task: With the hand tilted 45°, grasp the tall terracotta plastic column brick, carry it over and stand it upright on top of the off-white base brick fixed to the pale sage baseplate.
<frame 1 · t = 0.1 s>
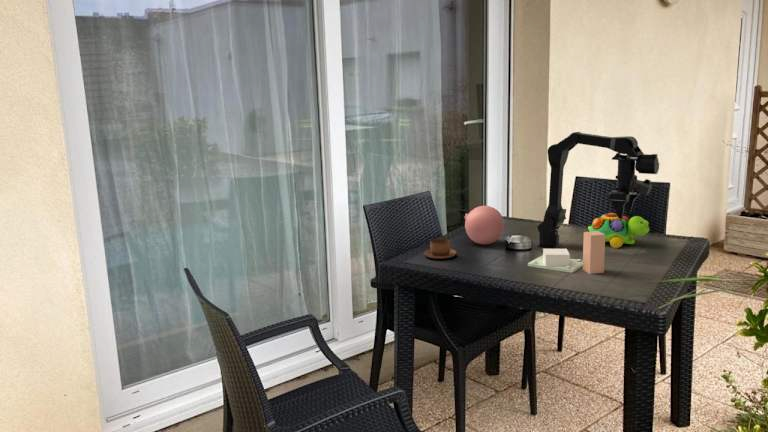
hand: (624, 216, 226), 15 cm above the table, tool pointing down, fingers open, 9 cm apart
turtle toy: (617, 244, 246), on the table
cup and saucer: (440, 257, 236), on the table
balloon: (481, 243, 255), on the table
tower base: (557, 264, 220), on the table
column brick: (593, 271, 212), on the table
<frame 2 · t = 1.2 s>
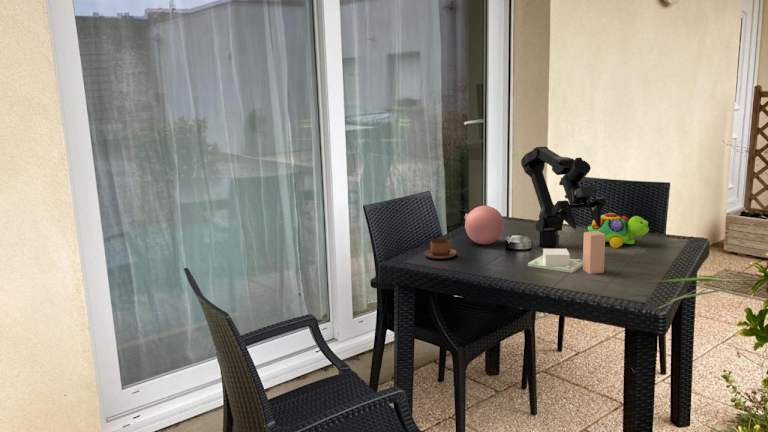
hand: (587, 227, 217), 13 cm above the table, tool tilted 40°, fingers open, 9 cm apart
nothing on the table moved.
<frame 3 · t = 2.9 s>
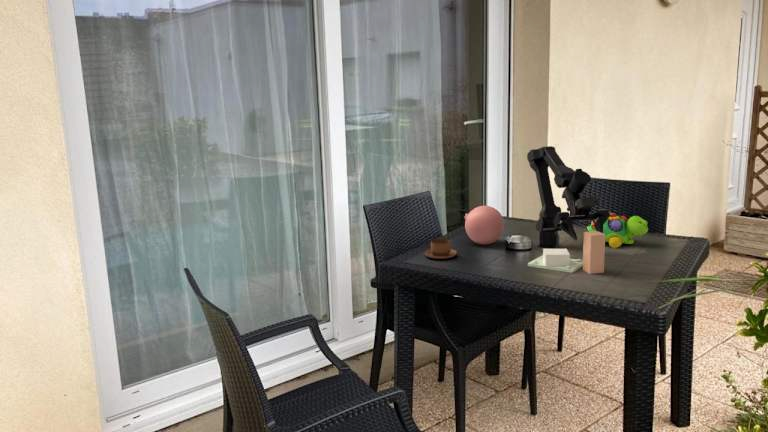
hand: (589, 239, 213), 10 cm above the table, tool tilted 45°, fingers open, 9 cm apart
nothing on the table moved.
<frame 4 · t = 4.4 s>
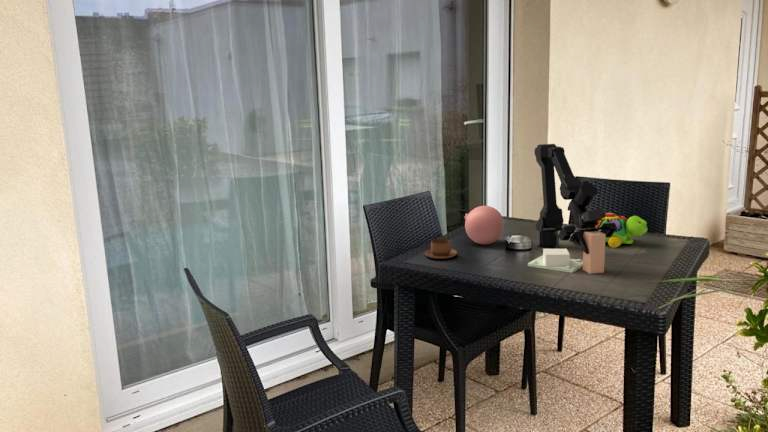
hand: (595, 252, 209), 7 cm above the table, tool tilted 45°, fingers closed on column brick, 5 cm apart
column brick: (593, 271, 211), on the table, touching gripper
everything else where it was.
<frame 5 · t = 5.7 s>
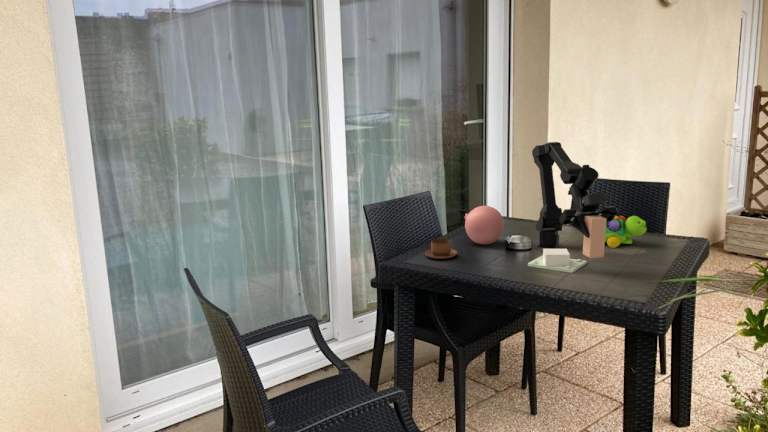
hand: (596, 236, 208), 12 cm above the table, tool tilted 45°, fingers closed on column brick, 5 cm apart
column brick: (593, 255, 210), point 5 cm above the table, touching gripper
everything else where it was.
when the fingers open (12 cm above the table, at t = 7.9 s): column brick stays where it is, resting on tower base.
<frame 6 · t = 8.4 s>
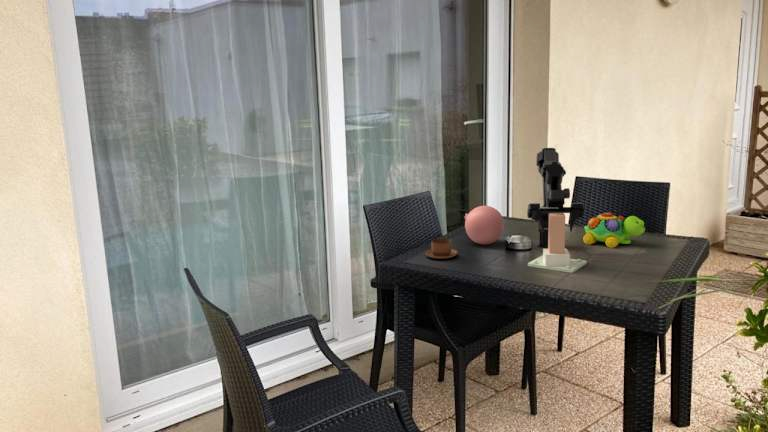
hand: (557, 231, 215), 13 cm above the table, tool tilted 45°, fingers open, 9 cm apart
column brick: (556, 251, 218), point 5 cm above the table, touching tower base
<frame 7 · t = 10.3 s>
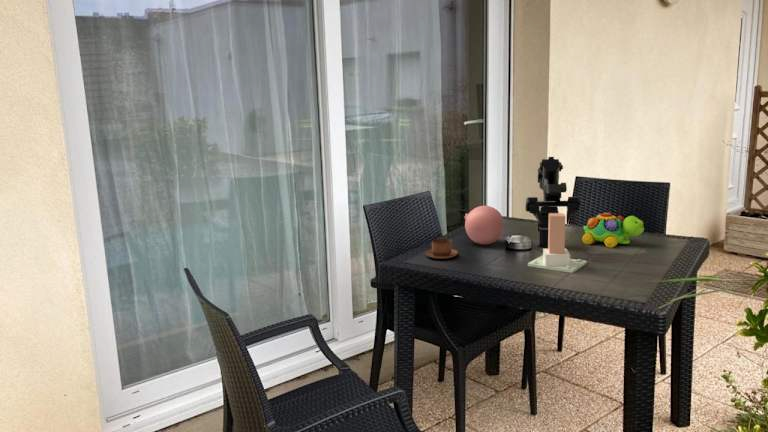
hand: (554, 223, 223), 13 cm above the table, tool tilted 45°, fingers open, 9 cm apart
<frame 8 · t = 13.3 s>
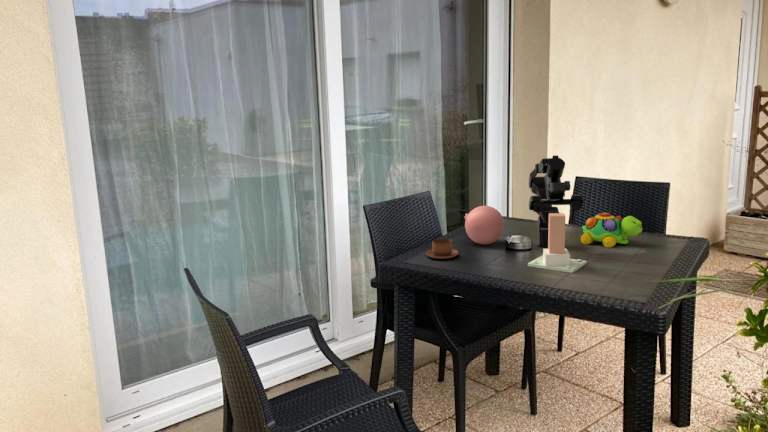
hand: (558, 222, 225), 14 cm above the table, tool tilted 45°, fingers open, 9 cm apart
at the end: column brick 0.0 cm from the target spot on the tower base, point 5.0 cm above the tower base's base; column brick tilted 0°; the gripper is holding nothing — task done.
